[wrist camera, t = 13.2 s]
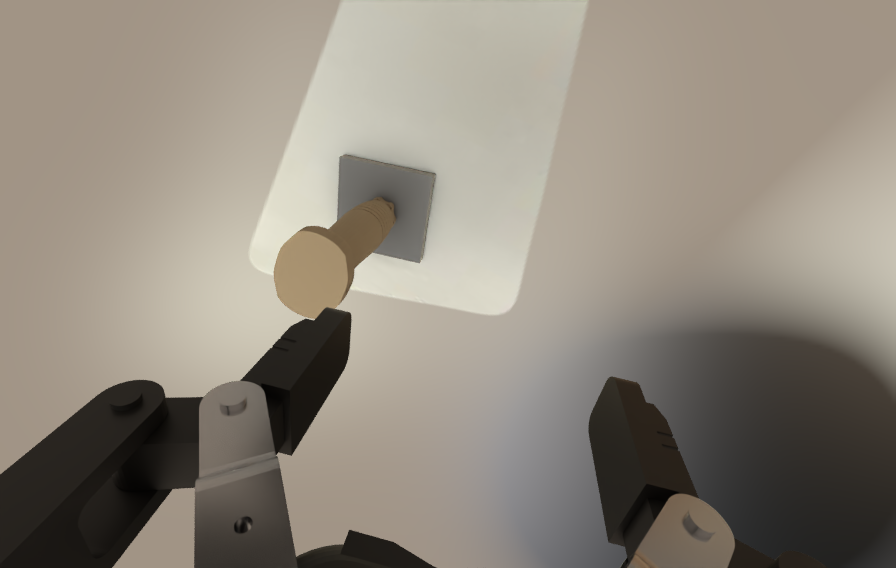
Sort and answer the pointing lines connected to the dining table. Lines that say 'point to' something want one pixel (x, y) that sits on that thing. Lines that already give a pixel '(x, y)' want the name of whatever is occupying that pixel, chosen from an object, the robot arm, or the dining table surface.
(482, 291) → the dining table surface
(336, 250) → the handle
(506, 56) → the dining table surface
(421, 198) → the plate
